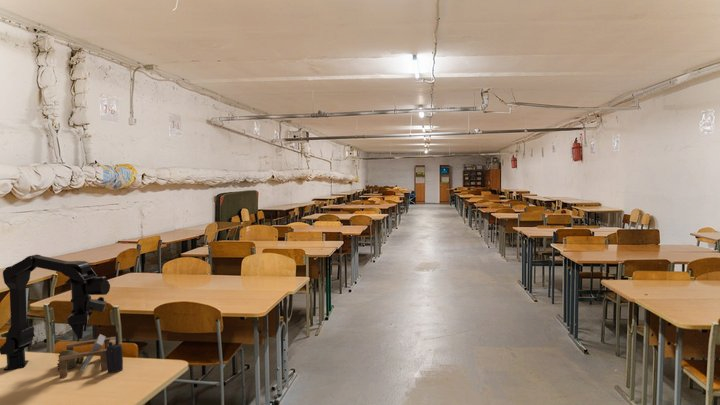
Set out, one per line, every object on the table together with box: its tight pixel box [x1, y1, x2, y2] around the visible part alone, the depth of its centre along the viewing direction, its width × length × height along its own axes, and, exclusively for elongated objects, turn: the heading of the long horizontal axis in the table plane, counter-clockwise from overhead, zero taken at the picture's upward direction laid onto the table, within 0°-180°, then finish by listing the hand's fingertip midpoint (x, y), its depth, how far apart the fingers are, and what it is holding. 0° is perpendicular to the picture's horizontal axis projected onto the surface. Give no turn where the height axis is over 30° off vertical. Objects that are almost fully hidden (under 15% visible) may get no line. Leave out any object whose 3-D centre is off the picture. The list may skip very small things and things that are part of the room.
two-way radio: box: [106, 330, 124, 374], centre depth 166 cm, size 6×4×15 cm
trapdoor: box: [79, 333, 106, 372], centre depth 173 cm, size 11×11×2 cm
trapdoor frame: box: [58, 336, 116, 379], centre depth 172 cm, size 16×17×8 cm
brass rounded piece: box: [56, 349, 85, 371], centre depth 171 cm, size 8×7×8 cm
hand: (82, 334), depth 171 cm, fingers open, 9 cm apart
